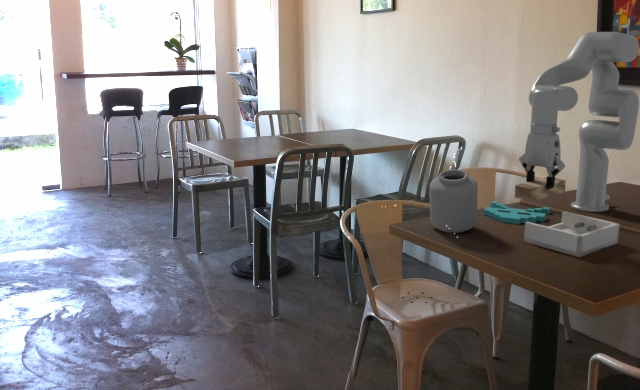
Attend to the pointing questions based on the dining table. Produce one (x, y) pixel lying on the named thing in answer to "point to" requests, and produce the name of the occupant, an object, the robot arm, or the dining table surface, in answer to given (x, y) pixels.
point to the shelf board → (538, 189)
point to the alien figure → (515, 214)
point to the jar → (453, 201)
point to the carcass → (573, 234)
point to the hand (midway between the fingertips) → (539, 185)
